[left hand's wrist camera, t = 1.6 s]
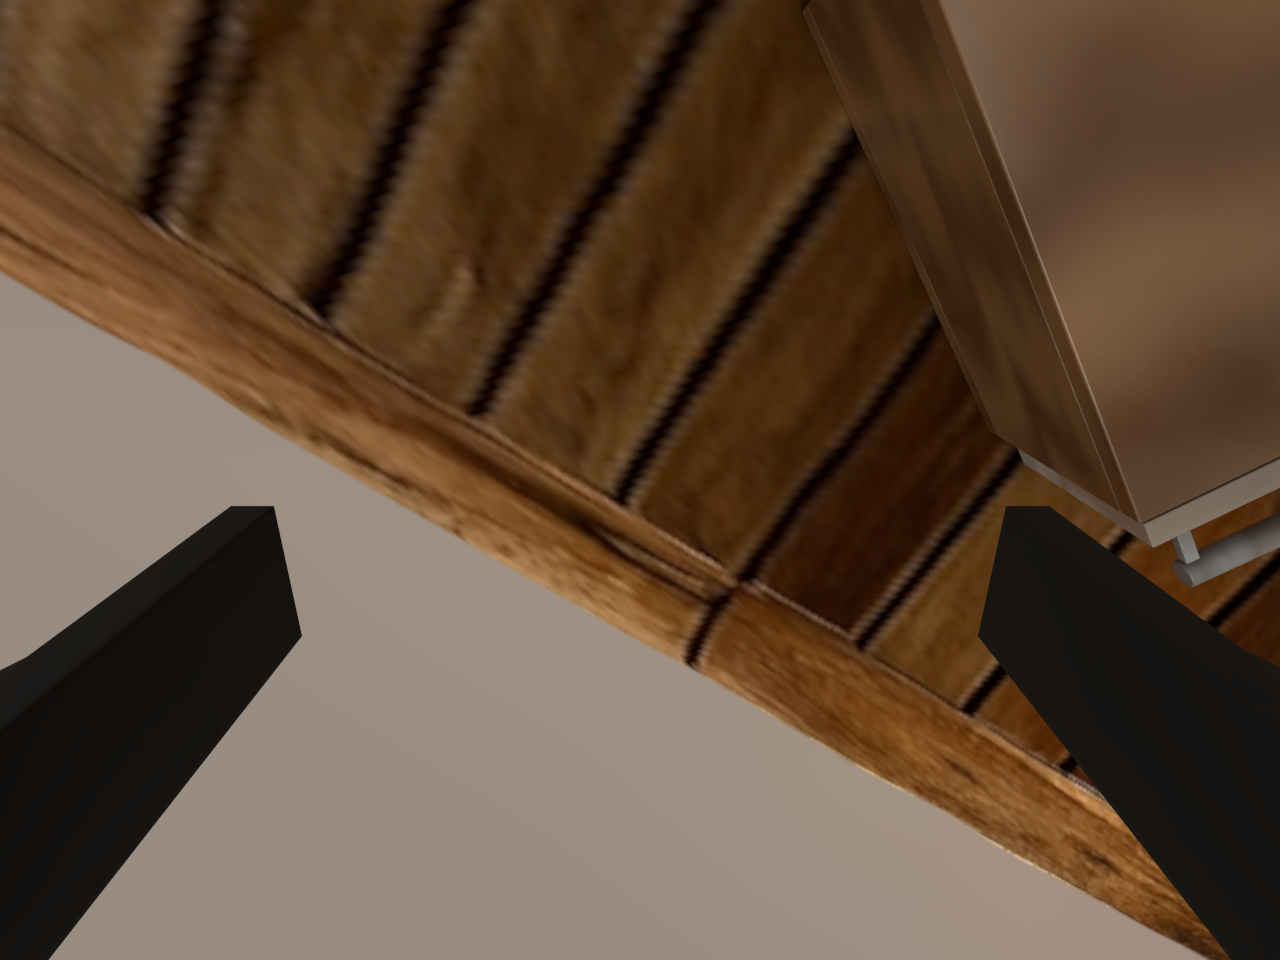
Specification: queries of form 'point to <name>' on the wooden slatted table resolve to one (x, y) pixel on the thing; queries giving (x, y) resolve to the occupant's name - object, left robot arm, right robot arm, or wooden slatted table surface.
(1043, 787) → the wooden slatted table surface
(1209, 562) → the drawer
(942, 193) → the cabinet
